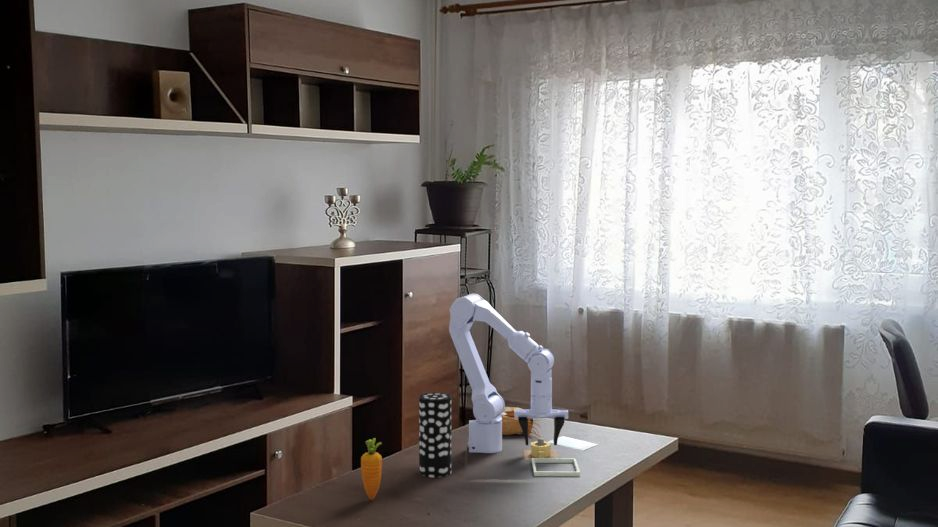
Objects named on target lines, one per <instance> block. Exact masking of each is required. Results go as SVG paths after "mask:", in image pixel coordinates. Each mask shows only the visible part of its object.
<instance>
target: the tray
mask: <svg viewBox="0 0 938 527" xmlns="http://www.w3.org/2000/svg"><path fill="white" fill-rule="evenodd" d="M537 463H539V464H543V463H544V464H545V463H546V464H548V463H549V464H551V463H552V464H554V463H556V464H573V466H574V469H575V471H569V470H568V471H567V470H566V471H563V470H562V471H560V470H559V471H557V470H556V471H553V470H552V471H551V470H550V471H547V470H543V471H542V470H538V471H537V467H536V464H537ZM531 467H532V470H533V471H532V472H533V477H581V471H580V468H579V465H578V462H577V459H576V458H574V457H571V458H570V457H569V458H568V457H562V458H559V457H558V458H532V460H531Z"/></svg>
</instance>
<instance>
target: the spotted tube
mask: <svg viewBox="0 0 938 527" xmlns="http://www.w3.org/2000/svg"><path fill="white" fill-rule="evenodd" d="M418 434H419V435H418V451H419V452H418V465H419V468H418V472H419V475H421V476H423V477H425V478H443V477H447V476H450V475H451V474H452V394H449V393H446V392H445V393H444V392H427V393H422V394H420V395H418Z"/></svg>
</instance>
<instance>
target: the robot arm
mask: <svg viewBox="0 0 938 527" xmlns="http://www.w3.org/2000/svg"><path fill="white" fill-rule="evenodd" d="M449 313H450V315H449V316H450V319H449V324H448V331H449V335H450V338H451V339H452V342H453V345H454V348H455V350H456V352H457V354H458V355H457V356H458V357H459V360H460V363H461V366H462V368H463V370H464V372H465V376H466V378H467V380H468V383H469V386H470V388H471V390H472V391H471V392H472V393H471V402H472V405H473V407H472V413H473V416H474V418H475V419H472V420H471V419H469V420H468V440H467V448H468V453H483V454H496V453H499V452H501V451H502V450H503V435H502V417H501V413H502V412H503V410H504V407H506V404H505V400H504V398H503V397H502V396H501V395H500V394H499V392H498V391H497V388H496V387H495V386H494V385H493V384H492V383H491V382H490V379H489V377H488V374H487V372H486V369H485V367H484V364H483V362H482V359H481V357H480V355H479V350H478V349H477V347H476V344H475V341H474V340H473V337H472V335H471V334H472V333H471V331H470V330H471V328H472V326H473V324H474V323H475V322H484V323H486V324H487V325H489V326H490V327H491V328H492V329H493V330H494V331H496V332H498V333H499V334H500V335H501V336H502V337H503V338H505V339H506V340H507V344H508V347H509V349H511V350H512V351H513V352H514V353H515V354H516V355H517V356H518V357H520V358H521V359H522V360H523V361H524V362H525V363H526V364H527V367H528V369H529V370H530V409H529V408H528V409H527V408H526V409H524V410H514V419H518V420H519V424H520V426H521V428H522V431H523V433H524V434H523V437H524V440H525V441H524V442H525V446H529V436H528V435H529V434H528V419H527V418H533V419H553V426H554V427H553V430H554V432H553V439H554V444H553V445H554V446H558V445H557V440H558V438H559V437H560V433H561V431H562V429H563V427H564V424H565V420H568V419H569V410H568V409H555V408H554V409H553V408H552V407H553V401H552V400H553V398H552V397H553V391H552V390H553V378H552V375H553V374H552V367H553V366H554V363H555V356H554V355H553V353H552V352H551V349H548V348H544V347H543V345H541V344H540V345H539V344H538V343H537V342H536V341H534V339H532V338H531V337H530V336H531V334H530V333H529V332H524V331H523V330H516V329H515V328H513V326H512V325H511V324H510V323H509V322H507V320H506V319H505V318H503V317H502V315H501V314H499V312H497V310H495V308H493V307H492V305H491V304H490V302H488V301H487V300H485V299H484V298H483V297H482V296H481V295H480V294H477V293H475V292H474V293H473V292H472V293H468V294H467V295H465V296H460V297H458V298H456V299H454V301H453V303H452V304H451V306H450V308H449Z"/></svg>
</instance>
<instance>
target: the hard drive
mask: <svg viewBox="0 0 938 527" xmlns="http://www.w3.org/2000/svg"><path fill="white" fill-rule="evenodd" d="M547 442H548V443H550V444H553V445H554V438H553V439H550V440H548V441H547ZM599 445H600V444H598V443H595V442H594V443H593V442H589V441H586V440H582V439H577V438H572V437H568V436H564V435H562V436H558V440H557V445H556V446H561V447H564V448H568V449H572V450H573V449H574V450H578V451H582V452H585V451H586V450H589V449H592V448H594V447H596V446H599Z"/></svg>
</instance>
